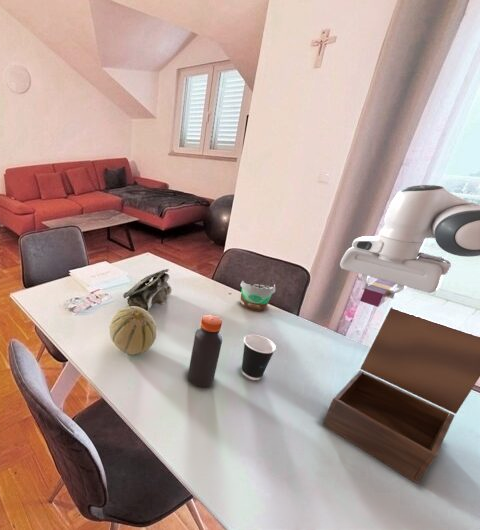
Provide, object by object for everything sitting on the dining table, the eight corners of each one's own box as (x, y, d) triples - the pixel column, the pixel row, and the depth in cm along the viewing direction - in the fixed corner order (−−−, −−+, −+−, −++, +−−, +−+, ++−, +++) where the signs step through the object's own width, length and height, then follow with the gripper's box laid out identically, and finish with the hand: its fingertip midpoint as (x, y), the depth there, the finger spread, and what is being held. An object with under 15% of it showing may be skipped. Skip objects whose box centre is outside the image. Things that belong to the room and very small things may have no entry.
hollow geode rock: (130, 328, 119) (157, 314, 108) (111, 300, 121) (136, 283, 110) (165, 298, 138) (191, 284, 127) (148, 274, 140) (172, 258, 129)
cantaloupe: (121, 329, 110) (123, 292, 104) (161, 344, 103) (166, 305, 97) (99, 352, 99) (101, 312, 93) (142, 371, 91) (147, 328, 85)
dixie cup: (236, 361, 95) (244, 331, 91) (266, 369, 92) (275, 339, 87) (235, 378, 89) (243, 347, 84) (267, 388, 85) (277, 355, 81)
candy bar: (391, 296, 90) (396, 283, 89) (378, 307, 85) (384, 294, 83) (373, 290, 93) (378, 278, 92) (359, 301, 88) (364, 288, 86)
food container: (238, 309, 122) (243, 287, 118) (236, 302, 128) (241, 280, 123) (273, 314, 119) (280, 291, 115) (269, 306, 124) (276, 284, 120)
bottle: (182, 374, 90) (192, 316, 82) (200, 368, 93) (211, 310, 85) (199, 391, 84) (212, 329, 76) (218, 383, 87) (232, 323, 79)
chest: (417, 484, 62) (436, 456, 59) (321, 424, 75) (333, 398, 72) (437, 441, 71) (455, 415, 68) (348, 394, 83) (359, 369, 80)
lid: (500, 344, 62) (501, 339, 65) (390, 307, 74) (395, 304, 77) (455, 414, 67) (458, 406, 70) (360, 368, 80) (365, 364, 83)
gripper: (457, 256, 76) (432, 305, 82) (354, 235, 92) (339, 277, 98) (451, 262, 73) (426, 313, 79) (346, 239, 89) (331, 283, 94)
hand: (377, 293), depth 88 cm, fingers closed on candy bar, 4 cm apart
